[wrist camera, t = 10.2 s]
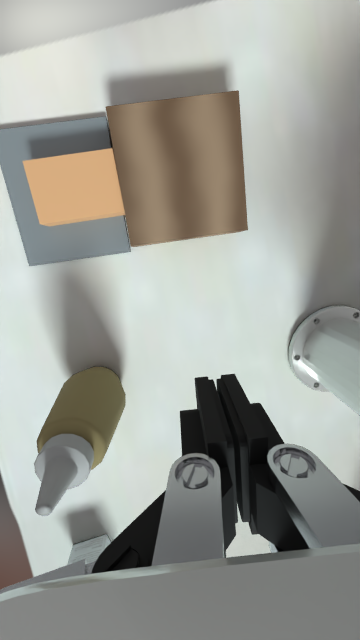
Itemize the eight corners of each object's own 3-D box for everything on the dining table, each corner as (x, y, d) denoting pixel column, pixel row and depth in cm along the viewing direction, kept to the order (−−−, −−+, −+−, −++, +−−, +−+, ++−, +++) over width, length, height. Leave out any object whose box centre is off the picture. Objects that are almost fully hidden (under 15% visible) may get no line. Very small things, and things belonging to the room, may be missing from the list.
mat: (106, 119, 28) (105, 116, 28) (130, 251, 32) (130, 251, 31) (-6, 133, 28) (-10, 130, 27) (31, 265, 31) (29, 266, 31)
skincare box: (86, 568, 45) (72, 628, 37) (72, 543, 43) (55, 601, 36) (120, 557, 44) (113, 615, 37) (107, 532, 43) (97, 588, 36)
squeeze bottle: (107, 347, 35) (55, 443, 17) (140, 393, 37) (122, 519, 19) (57, 377, 35) (-43, 499, 18) (92, 420, 37) (33, 567, 20)
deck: (229, 109, 29) (238, 90, 25) (238, 232, 32) (247, 229, 29) (112, 123, 28) (105, 106, 25) (133, 246, 32) (130, 246, 28)
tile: (116, 156, 29) (112, 148, 26) (127, 214, 30) (124, 211, 28) (34, 168, 28) (22, 160, 26) (49, 226, 30) (39, 224, 27)
